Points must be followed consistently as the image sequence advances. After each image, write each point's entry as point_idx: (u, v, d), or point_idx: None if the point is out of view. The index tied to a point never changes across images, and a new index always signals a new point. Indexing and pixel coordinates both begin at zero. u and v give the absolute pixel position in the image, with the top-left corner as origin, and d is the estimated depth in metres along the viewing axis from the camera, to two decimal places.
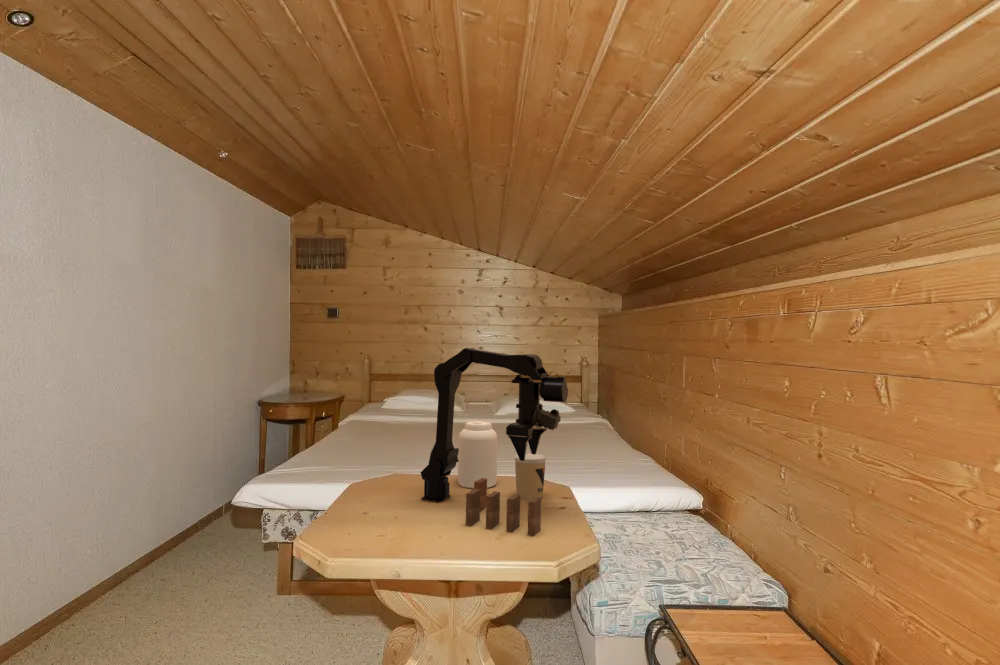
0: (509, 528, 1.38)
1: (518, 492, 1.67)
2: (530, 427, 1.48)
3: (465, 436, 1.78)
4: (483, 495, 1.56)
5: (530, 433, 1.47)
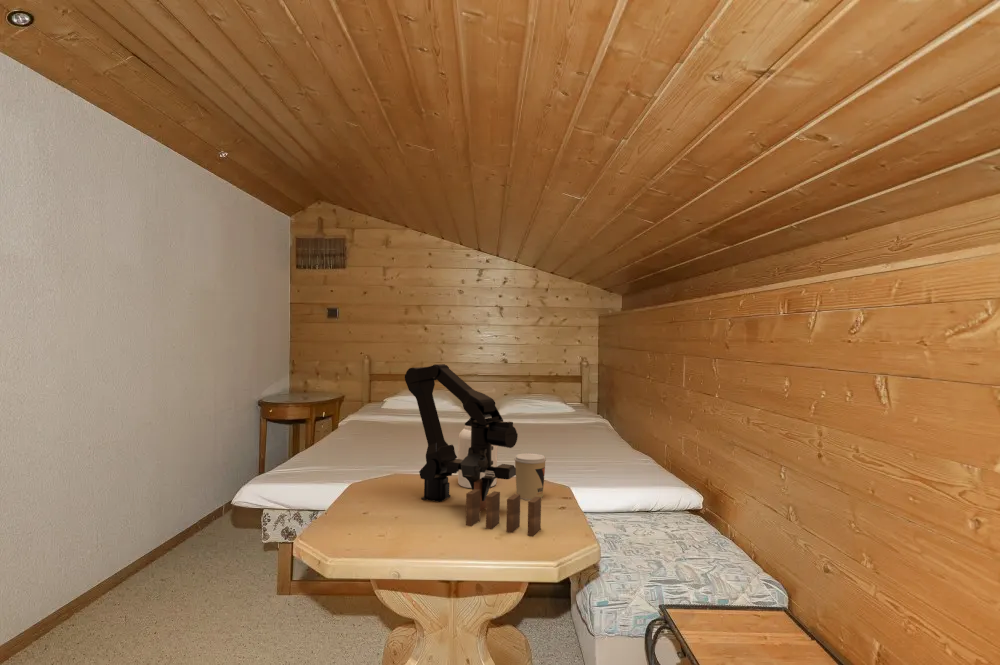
0: (509, 528, 1.38)
1: (518, 492, 1.67)
2: (454, 465, 1.56)
3: (465, 436, 1.78)
4: None
5: (452, 471, 1.56)
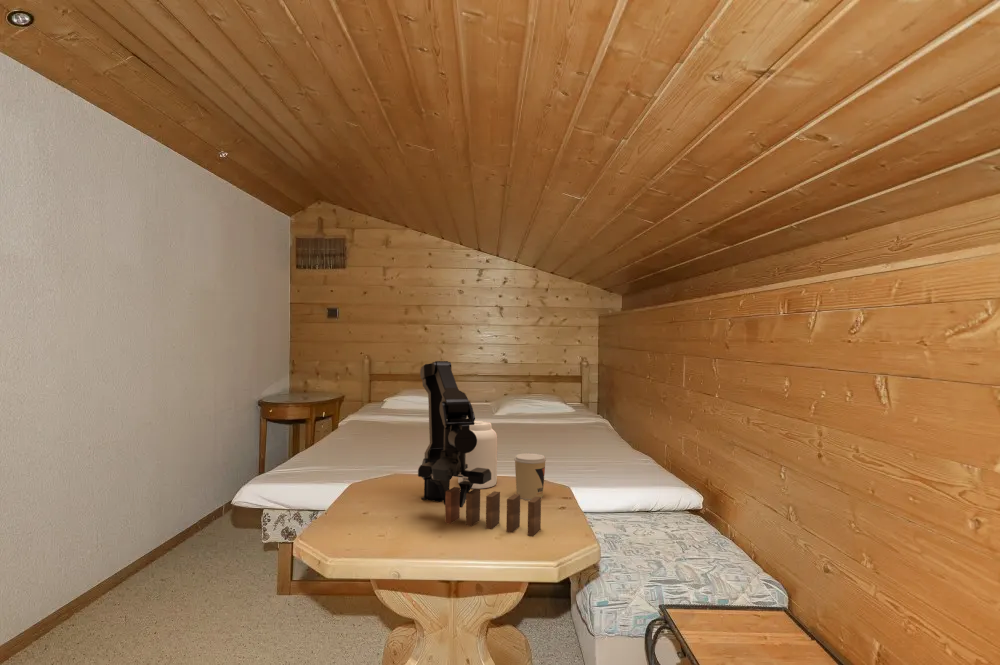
0: (509, 528, 1.38)
1: (518, 492, 1.67)
2: (426, 469, 1.47)
3: None
4: (455, 505, 1.46)
5: (424, 475, 1.47)
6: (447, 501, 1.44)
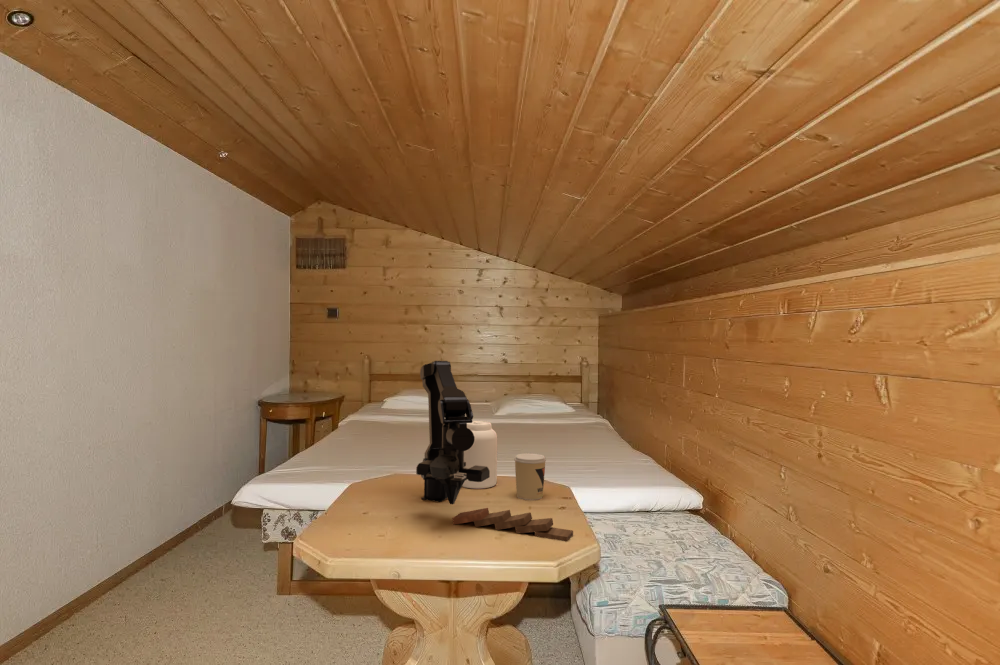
0: (519, 530, 1.37)
1: (518, 492, 1.67)
2: (424, 467, 1.47)
3: None
4: None
5: (422, 473, 1.47)
6: (471, 517, 1.41)
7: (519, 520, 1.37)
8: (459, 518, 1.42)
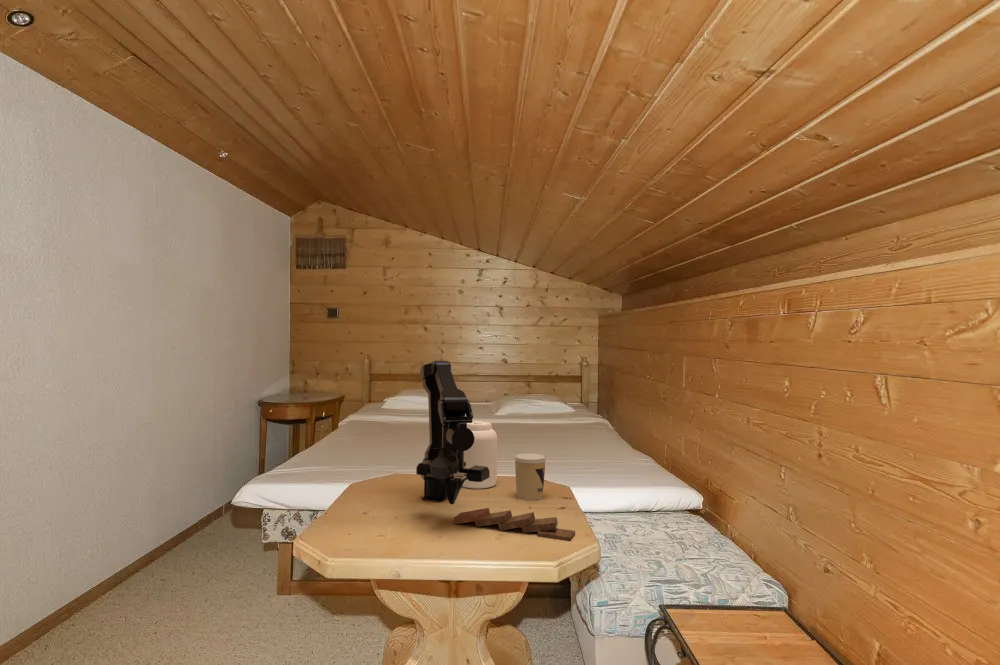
0: (526, 529, 1.37)
1: (518, 492, 1.67)
2: (424, 467, 1.47)
3: None
4: None
5: (422, 473, 1.47)
6: (472, 517, 1.41)
7: (524, 520, 1.37)
8: (460, 518, 1.42)
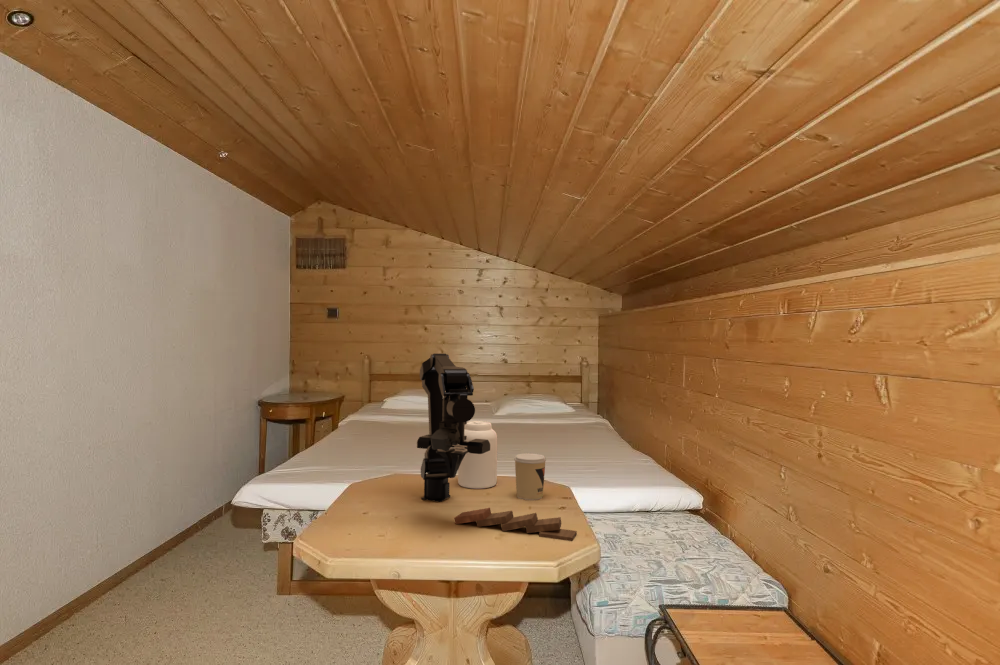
0: (530, 529, 1.37)
1: (518, 492, 1.67)
2: (425, 440, 1.47)
3: None
4: None
5: (423, 446, 1.47)
6: (474, 517, 1.41)
7: (526, 521, 1.37)
8: (461, 518, 1.43)
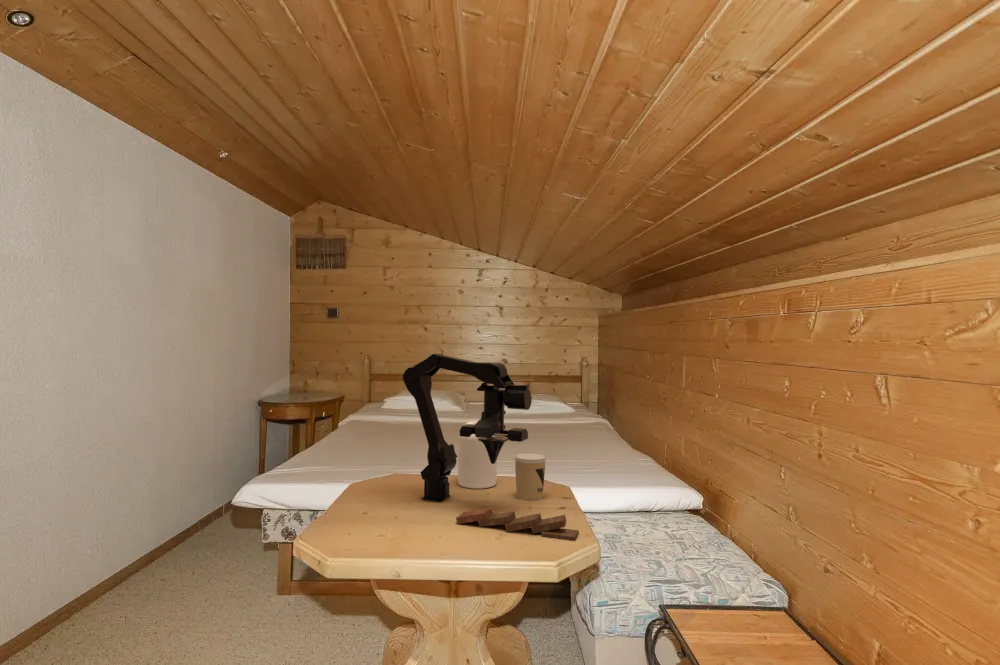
0: (536, 529, 1.37)
1: (518, 492, 1.67)
2: (467, 429, 1.59)
3: None
4: None
5: (465, 435, 1.59)
6: (476, 516, 1.42)
7: (531, 521, 1.36)
8: (463, 518, 1.43)
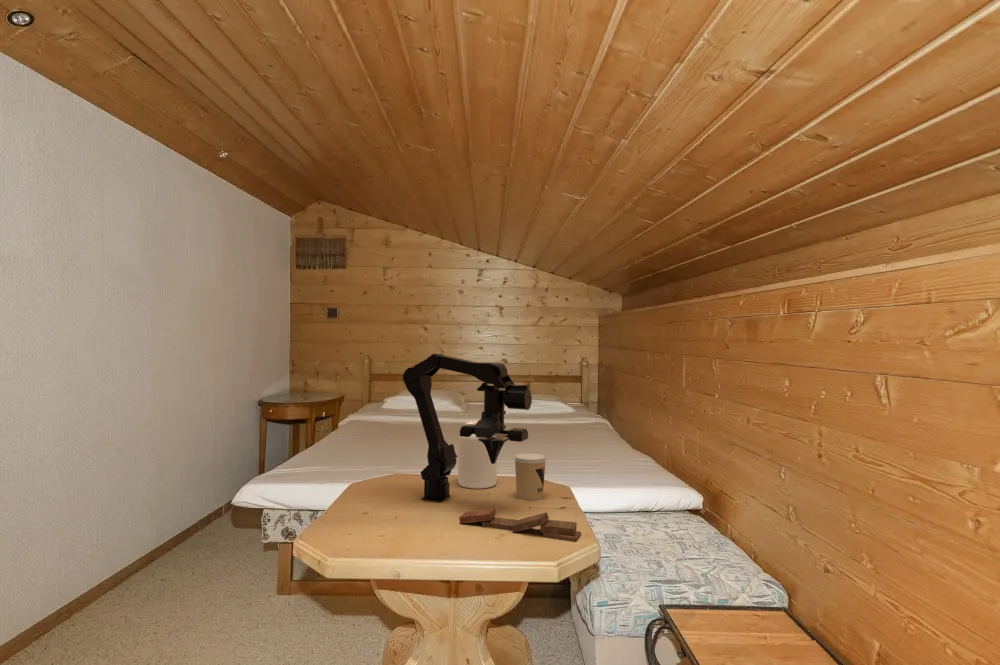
0: (544, 529, 1.35)
1: (518, 492, 1.67)
2: (467, 429, 1.59)
3: None
4: None
5: (466, 435, 1.59)
6: (479, 517, 1.42)
7: (536, 521, 1.35)
8: (466, 518, 1.43)
